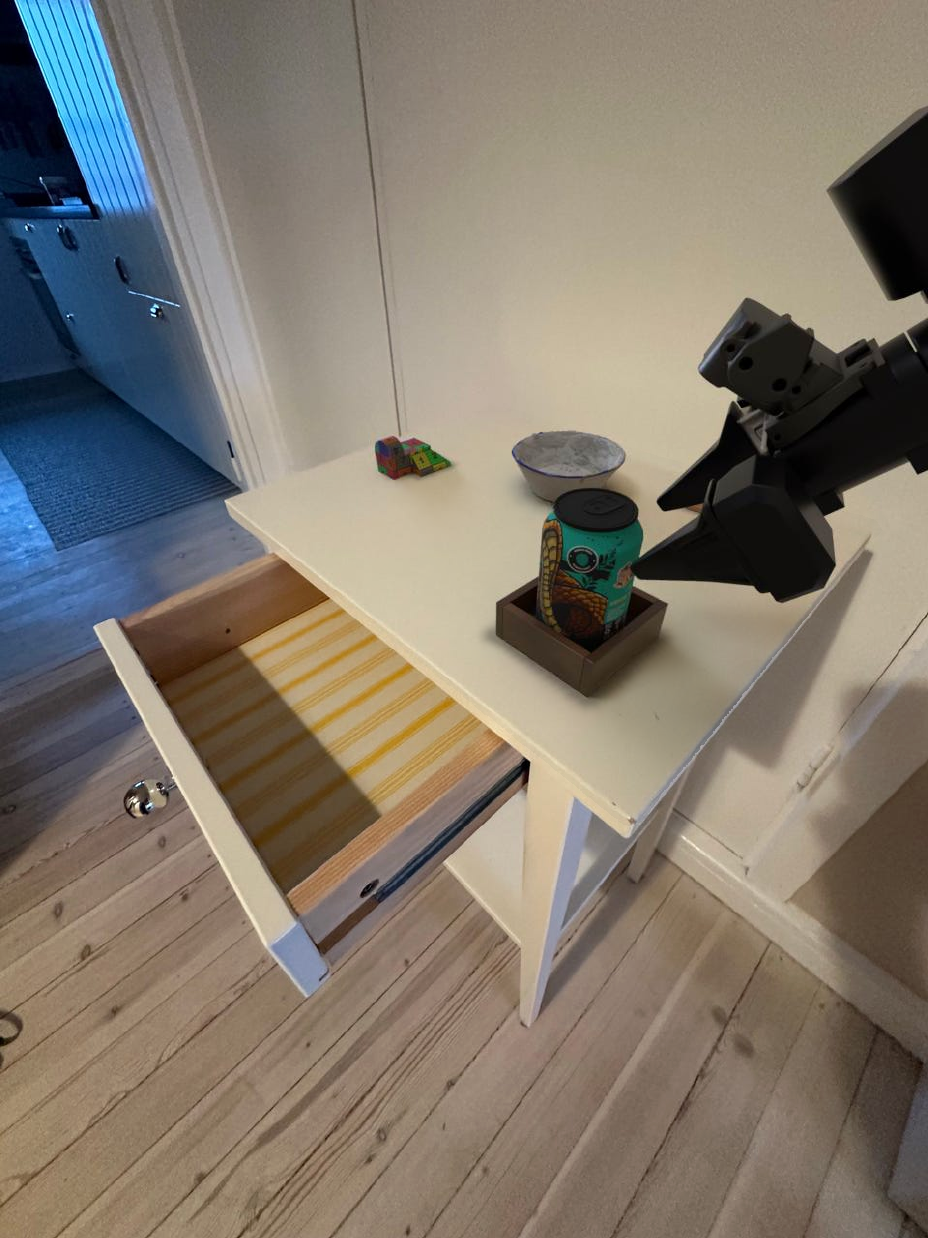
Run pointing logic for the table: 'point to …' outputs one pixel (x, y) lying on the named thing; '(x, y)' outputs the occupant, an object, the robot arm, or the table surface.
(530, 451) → the bowl
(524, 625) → the tray
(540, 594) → the beverage can
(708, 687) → the table surface
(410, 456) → the numbered block arch
